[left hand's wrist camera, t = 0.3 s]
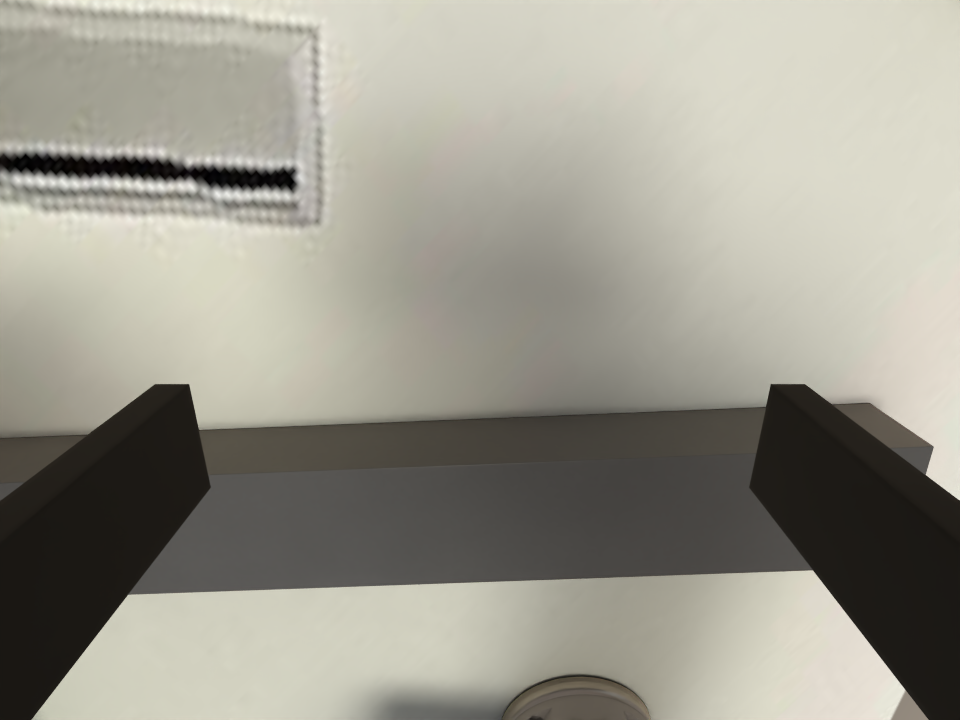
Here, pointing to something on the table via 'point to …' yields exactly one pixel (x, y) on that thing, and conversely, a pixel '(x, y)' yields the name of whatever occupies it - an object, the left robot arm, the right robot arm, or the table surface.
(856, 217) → the table surface
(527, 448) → the long beam
